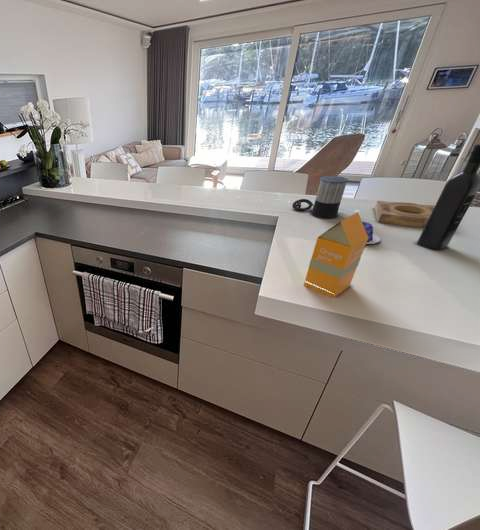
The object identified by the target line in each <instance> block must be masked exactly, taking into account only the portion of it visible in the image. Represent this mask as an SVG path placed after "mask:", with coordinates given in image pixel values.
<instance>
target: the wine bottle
mask: <svg viewBox="0 0 480 530" xmlns="http://www.w3.org/2000/svg"><path fill="white" fill-rule="evenodd" d="M479 169H480V143H479V144H475V145H474V147H473V149H472V151H471V154H470V156H469V158H468V160H467V162H466V163H465V166H464V168H463V169H462V171H461V172H458V173H457V174H455V175H453V176H451V178H449V179H448V181H447V182H446V183H445V185H444V187H443V189H442V191H441V193H440V195H439V197H438V199H437V201H436V203H435V204H434V205H435V207H434V209H433V211H432V213H431V215H430V217H429V219H428V221H427V223H426V225H425V227H423V230H422V231H421V234H420V236H419V238H418V240H417V242H416V244H417V245H419V246H422V247H424V248H427V249H431V250H434V251H437V250H442V249H444V248H447V247H448V246H449V244H450V242H451V240H452V239H453V237H454V235H455V233H456V231H457V229H458V228H459V226H460V224H461V223H462V221H463V218H464V217H465V216H466V214H467V212H468V211H469V207H470V206H471V205H472V203H473V200H474V199H475V197H476V195H477V193H478V191H479V190H480V174H479V173H478V172H479Z"/></svg>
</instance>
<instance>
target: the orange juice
mask: <svg viewBox="0 0 480 530" xmlns="http://www.w3.org/2000/svg"><path fill="white" fill-rule="evenodd" d="M362 222H363V221H362V218H361V216H360V214H359V212H355V213H353V214H352V215H350V216H348V217H346V218H344V219H342V220H340V221H339V222H337V223H336V224H334V225H333V226H332V227H330V228H329V229H328V230H326V231H325V232H323V233H322V234H320V235H319V236H317V238H316V241H315V245H314V248H313V252H312V254H311V258H310V261H309V265H308V269H307V272H306V276H305V279H304V282H303V286H304V287H306V288H309V289H311V288H312V289H311V290H314V291H316V292H319V293H321V294H323V295H325V296H328V297H330V298H332V299H334V298H336V297H337V296H338V295H340V294H341V293H342V292H344V291H345V290H346V289H348V288H349V287H350V286H351V284H352V282H353V279H354V277H355V273H356V271H357V268H358V266H359V264H360V262H361V258H362V255H363V253H364V251H365V248H366V245H367V244H366V243H367V240H368V238H369V237H368V235H367V233H366V230H365V228H364V226H363V223H362ZM305 280H306V281H308V282H310V283H312V284H315V285H317V286H319V287H321V288H324V289H326V290H328V291H330V292H332V293H334V294H335V295H334V294H332V293H329V292H327V291H325V290H322V289H320V288H317V287H315V286H313V285H310V284H308V283H305Z"/></svg>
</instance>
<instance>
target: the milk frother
mask: <svg viewBox="0 0 480 530" xmlns="http://www.w3.org/2000/svg"><path fill="white" fill-rule="evenodd" d="M319 180H320V181H319V185H318V188H317V193H316V197H315V200H314V203H313V202H312V201H311V200H310V199H306V198H300V199H296V200H295V201H294V202H293V203H292V209H294V210H296V211H301V212H305V211H308V210H310V209H311V208H312V210H311V212H310V214H311V215H312V216H314V217H316V218H321V219H334V218H337V217H338V213H339V209H340V206H341V201H342V199H343V196H344V194H345V193H344V192H345V189H346V186H347V183H348V182H349V179H348V178H347V177H344V176H341V175H339V176H338V175H327V176H326V175H325V176H321V177H319ZM302 203H306V204H307V207H302Z"/></svg>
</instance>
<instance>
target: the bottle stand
mask: <svg viewBox="0 0 480 530" xmlns="http://www.w3.org/2000/svg"><path fill="white" fill-rule="evenodd" d="M435 205H436V204H427V203H426V204H425V203H414V202H404V201H386V200H376V204H375V205H374V213H375V216H376V220H377V223H380V224H390V225H400V226H404V227H414V228H424V227H425V225H426V223H427V221H428V219H429V217H430V215H431V213H432V211H433V209H434V207H435Z"/></svg>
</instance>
